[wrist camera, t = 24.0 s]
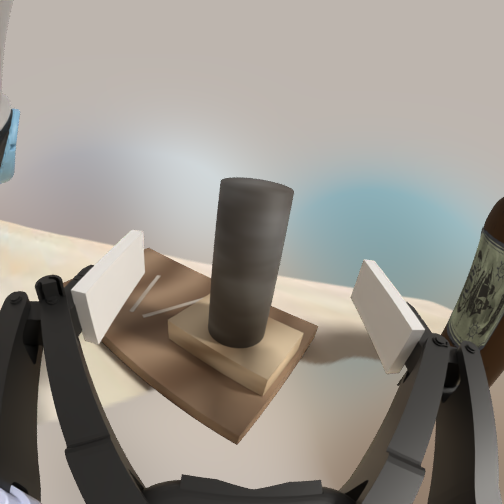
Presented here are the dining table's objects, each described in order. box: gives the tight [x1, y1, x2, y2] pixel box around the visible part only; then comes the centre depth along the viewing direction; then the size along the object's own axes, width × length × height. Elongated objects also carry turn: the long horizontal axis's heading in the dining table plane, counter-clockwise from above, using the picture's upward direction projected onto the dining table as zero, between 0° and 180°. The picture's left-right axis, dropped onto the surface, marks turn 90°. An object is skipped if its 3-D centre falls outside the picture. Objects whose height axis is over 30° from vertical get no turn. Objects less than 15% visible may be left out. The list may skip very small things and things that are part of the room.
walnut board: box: [63, 248, 318, 445], centre depth 25 cm, size 24×14×2 cm, turn 59°
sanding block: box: [168, 178, 304, 396], centre depth 19 cm, size 9×6×13 cm, turn 58°
